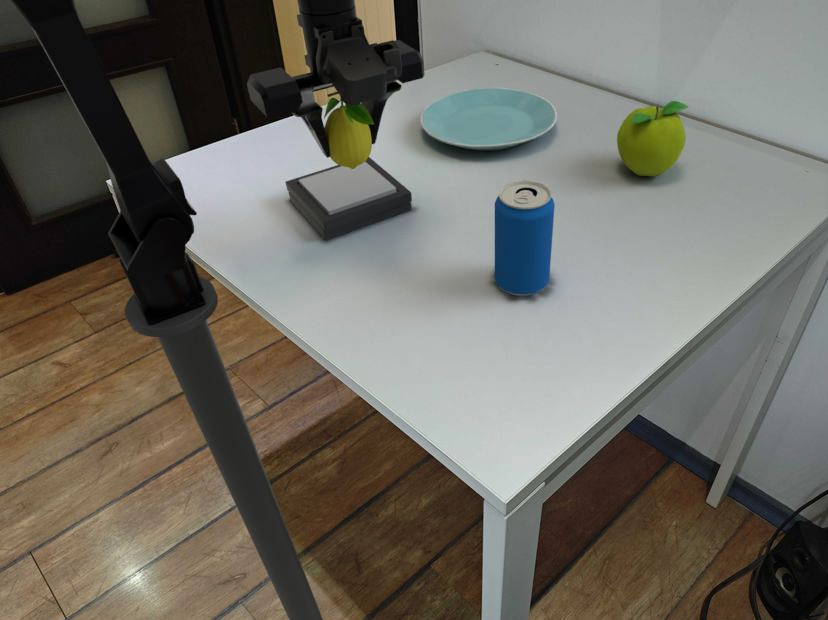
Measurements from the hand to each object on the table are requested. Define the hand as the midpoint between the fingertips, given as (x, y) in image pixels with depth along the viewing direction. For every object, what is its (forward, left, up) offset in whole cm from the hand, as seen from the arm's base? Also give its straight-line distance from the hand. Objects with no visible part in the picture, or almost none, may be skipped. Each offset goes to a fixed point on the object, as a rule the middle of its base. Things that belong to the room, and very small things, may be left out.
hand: (349, 149), depth 79 cm
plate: (+31, +17, -13) cm, 38 cm away
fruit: (+42, -8, -13) cm, 45 cm away
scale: (+2, +9, -12) cm, 15 cm away
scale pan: (+2, +8, -11) cm, 14 cm away
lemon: (0, 0, -3) cm, 3 cm away
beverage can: (+11, -19, -13) cm, 26 cm away
